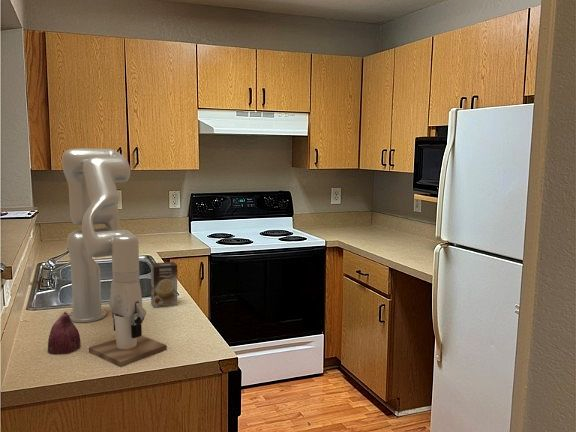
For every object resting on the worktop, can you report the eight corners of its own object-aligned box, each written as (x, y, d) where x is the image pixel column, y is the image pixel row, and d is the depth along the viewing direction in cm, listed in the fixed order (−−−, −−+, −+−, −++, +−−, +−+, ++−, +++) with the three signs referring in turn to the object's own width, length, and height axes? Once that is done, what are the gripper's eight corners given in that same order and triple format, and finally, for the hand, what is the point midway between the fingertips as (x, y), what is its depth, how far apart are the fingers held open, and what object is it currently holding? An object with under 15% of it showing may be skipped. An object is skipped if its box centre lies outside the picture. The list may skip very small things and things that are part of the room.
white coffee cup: (137, 340, 159) (137, 308, 158) (138, 348, 153) (137, 315, 151) (115, 342, 157) (114, 310, 156) (115, 350, 151) (113, 318, 149)
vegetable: (82, 359, 155) (89, 320, 151) (48, 362, 150) (54, 321, 146) (77, 341, 162) (83, 304, 159) (44, 343, 157) (50, 304, 154)
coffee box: (153, 308, 195) (152, 266, 193) (150, 303, 201) (150, 263, 199) (177, 305, 199) (177, 264, 196) (174, 300, 204) (174, 261, 202)
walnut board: (88, 352, 153) (88, 347, 153) (134, 337, 166) (134, 332, 165) (120, 366, 143) (120, 361, 143) (166, 349, 156) (166, 344, 156)
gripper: (97, 273, 154) (99, 330, 156) (133, 284, 143) (134, 344, 146) (119, 269, 160) (121, 323, 162) (155, 278, 149) (156, 336, 151)
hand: (127, 333), depth 154 cm, fingers open, 8 cm apart
